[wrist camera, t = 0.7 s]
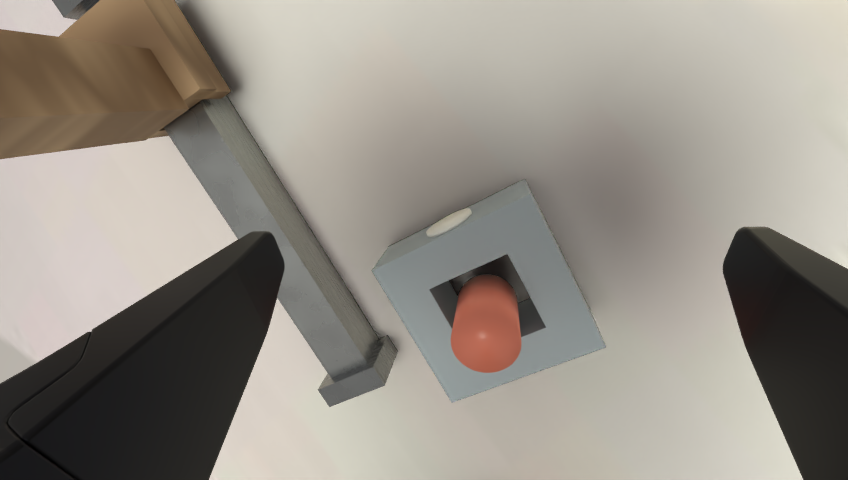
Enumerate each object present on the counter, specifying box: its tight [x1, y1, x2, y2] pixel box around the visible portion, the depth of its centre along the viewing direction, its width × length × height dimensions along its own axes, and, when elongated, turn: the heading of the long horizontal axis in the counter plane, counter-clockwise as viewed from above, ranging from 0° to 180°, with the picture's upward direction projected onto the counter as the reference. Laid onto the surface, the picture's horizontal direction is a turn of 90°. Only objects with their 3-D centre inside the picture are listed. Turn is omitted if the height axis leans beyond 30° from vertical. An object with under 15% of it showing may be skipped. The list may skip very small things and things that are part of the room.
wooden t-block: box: [0, 0, 231, 159], centre depth 16 cm, size 5×5×11 cm
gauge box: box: [372, 179, 606, 402], centre depth 22 cm, size 8×8×4 cm
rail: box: [52, 0, 398, 407], centre depth 23 cm, size 24×4×3 cm, turn 29°
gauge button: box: [451, 274, 521, 373], centre depth 19 cm, size 3×3×4 cm
